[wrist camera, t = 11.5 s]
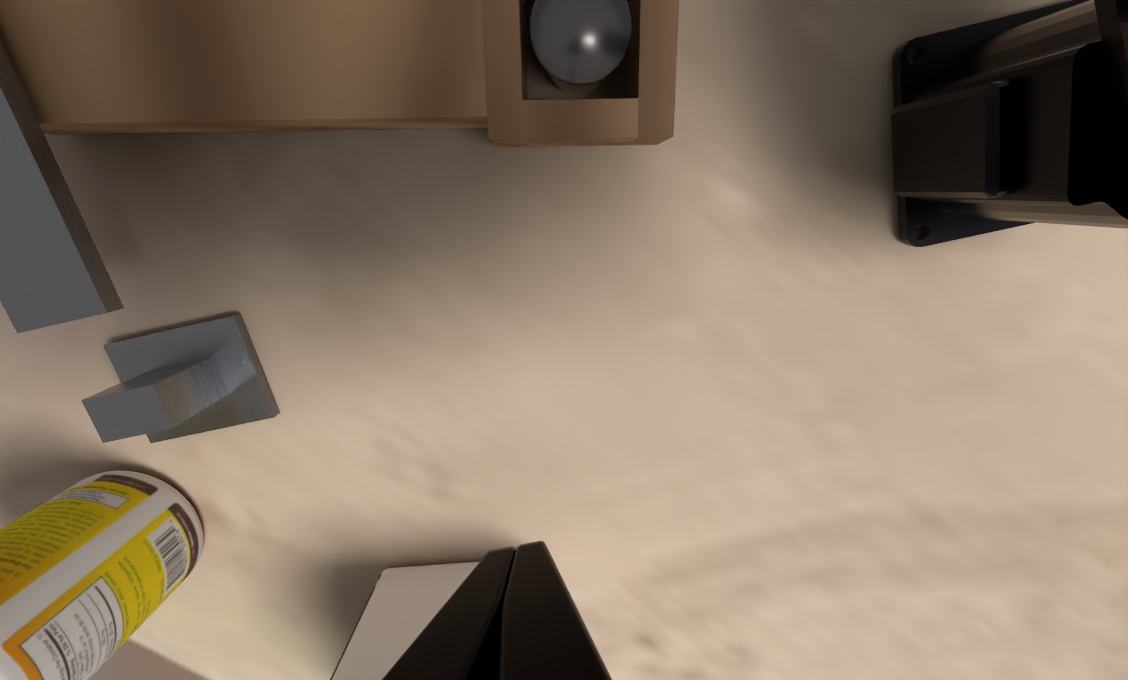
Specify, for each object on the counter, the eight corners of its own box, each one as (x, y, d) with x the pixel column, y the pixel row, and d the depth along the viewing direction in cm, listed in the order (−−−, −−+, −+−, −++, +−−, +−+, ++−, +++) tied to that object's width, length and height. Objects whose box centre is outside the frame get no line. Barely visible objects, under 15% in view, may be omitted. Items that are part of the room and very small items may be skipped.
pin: (609, 5, 16) (620, -44, 13) (624, 94, 17) (639, 69, 14) (528, 25, 16) (519, -18, 13) (546, 112, 17) (542, 93, 14)
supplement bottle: (44, 513, 21) (-403, 790, 11) (134, 438, 20) (-267, 669, 11) (150, 602, 22) (-170, 922, 13) (240, 535, 22) (-30, 824, 12)
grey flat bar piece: (4, -274, 14) (-192, -437, 11) (279, 412, 20) (214, 463, 16) (-159, -225, 15) (-406, -368, 11) (158, 438, 20) (67, 494, 17)
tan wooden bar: (663, -40, 16) (682, -84, 13) (657, 144, 17) (673, 136, 15) (12, -30, 16) (-91, -70, 13) (61, 154, 17) (-25, 147, 15)
